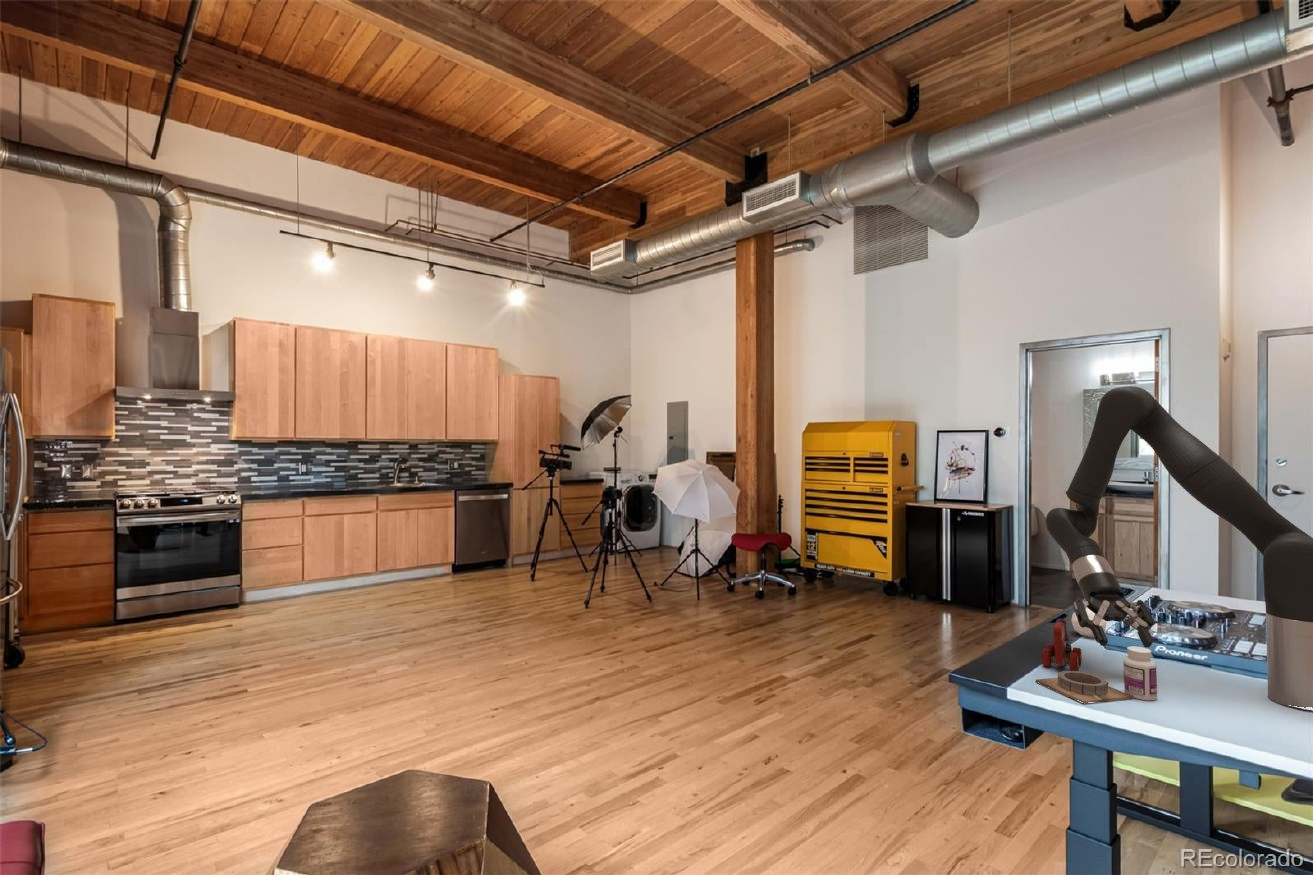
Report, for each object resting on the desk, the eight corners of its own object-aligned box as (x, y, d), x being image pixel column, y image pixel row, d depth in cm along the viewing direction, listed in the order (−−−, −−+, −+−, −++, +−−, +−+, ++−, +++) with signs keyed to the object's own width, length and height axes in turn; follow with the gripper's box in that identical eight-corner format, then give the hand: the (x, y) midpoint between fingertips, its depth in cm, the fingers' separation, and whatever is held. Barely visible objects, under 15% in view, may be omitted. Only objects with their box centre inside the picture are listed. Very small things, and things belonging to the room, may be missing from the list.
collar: (1081, 677, 139) (1081, 666, 139) (1133, 699, 127) (1133, 686, 127) (1035, 682, 136) (1035, 670, 136) (1084, 704, 124) (1083, 691, 124)
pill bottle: (1145, 691, 131) (1144, 645, 131) (1163, 701, 126) (1162, 653, 126) (1118, 690, 131) (1117, 644, 132) (1135, 700, 126) (1133, 653, 126)
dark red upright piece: (1083, 661, 149) (1082, 618, 149) (1076, 676, 140) (1075, 629, 140) (1049, 655, 154) (1048, 613, 154) (1040, 669, 144) (1039, 624, 144)
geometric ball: (1079, 645, 169) (1059, 618, 173) (1103, 633, 171) (1081, 606, 175) (1095, 639, 163) (1073, 611, 167) (1119, 626, 164) (1097, 599, 168)
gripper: (1068, 569, 143) (1096, 635, 131) (1137, 571, 141) (1172, 637, 129) (1057, 587, 148) (1084, 652, 137) (1123, 589, 146) (1156, 654, 134)
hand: (1126, 645), depth 133 cm, fingers open, 8 cm apart
